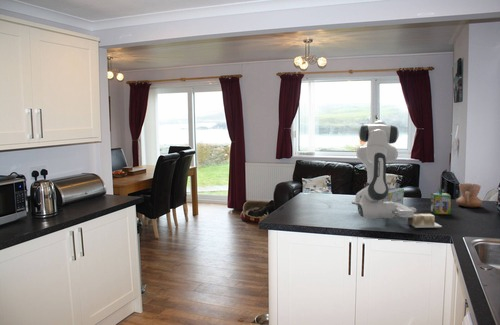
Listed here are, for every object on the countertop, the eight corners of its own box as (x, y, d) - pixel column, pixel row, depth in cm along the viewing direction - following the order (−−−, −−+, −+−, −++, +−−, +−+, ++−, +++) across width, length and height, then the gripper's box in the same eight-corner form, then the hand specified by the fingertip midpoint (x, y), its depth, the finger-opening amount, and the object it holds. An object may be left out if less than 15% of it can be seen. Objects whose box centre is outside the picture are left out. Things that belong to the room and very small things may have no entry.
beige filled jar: (412, 216, 210) (434, 215, 210) (408, 213, 215) (430, 213, 215) (411, 225, 211) (434, 225, 211) (407, 223, 216) (429, 222, 216)
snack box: (388, 219, 227) (389, 192, 225) (379, 217, 231) (380, 191, 229) (403, 212, 242) (404, 188, 241) (394, 211, 246) (395, 186, 245)
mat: (415, 227, 209) (415, 226, 209) (408, 223, 218) (408, 222, 218) (442, 227, 209) (442, 226, 209) (433, 222, 218) (433, 221, 218)
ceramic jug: (459, 202, 269) (460, 181, 267) (484, 205, 260) (485, 183, 258) (452, 208, 255) (453, 186, 254) (478, 211, 246) (479, 188, 244)
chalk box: (450, 214, 236) (451, 190, 234) (433, 214, 238) (435, 189, 236) (446, 211, 245) (447, 187, 243) (430, 210, 247) (431, 187, 245)
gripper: (397, 208, 201) (424, 208, 202) (382, 200, 222) (407, 199, 222) (396, 220, 202) (423, 220, 202) (382, 211, 222) (407, 211, 223)
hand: (415, 209), depth 212 cm, fingers closed
